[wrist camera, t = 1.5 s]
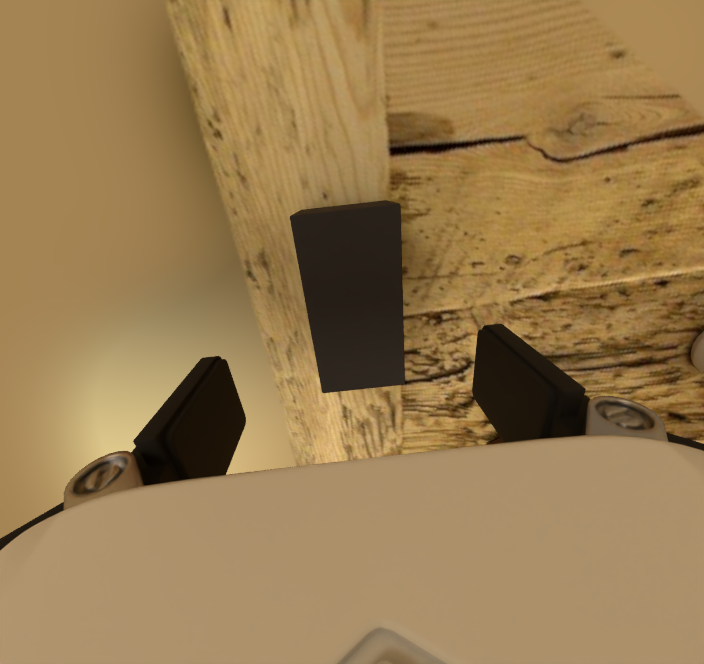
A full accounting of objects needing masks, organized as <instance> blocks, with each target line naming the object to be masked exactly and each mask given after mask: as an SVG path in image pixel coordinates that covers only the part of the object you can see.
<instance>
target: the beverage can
mask: <svg viewBox="0 0 704 664" xmlns="http://www.w3.org/2000/svg"><path fill="white" fill-rule="evenodd" d="M691 359H692V363H693V365H694V366H695V367H696V369H697V370H699V371H701V372H703V373H704V331H703V332H702V333H701V334H700V335H699V336H698V337H697V338H696V340H695V341H694V343H693V346H692V348H691Z"/></svg>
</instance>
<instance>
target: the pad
mask: <svg viewBox="0 0 704 664" xmlns="http://www.w3.org/2000/svg"><path fill="white" fill-rule="evenodd" d="M290 221H291V226H292V232H293V237H294V242H295V248H296V253H297V259H298V264H299V269H300V275H301V280H302V286H303V291H304V296H305V302H306V307H307V313H308V318H309V323H310V329H311V334H312V340H313V345H314V350H315V356H316V361H317V367H318V372H319V377H320V383H321V388H322V393H329V392H338V391H348V390H357V389H366V388H376V387H385V386H394V385H404V384H405V368H404V327H403V287H402V247H401V206H400V204H399V203H395V202H391V201H387V200H385V201H377V202H368V203H359V204H350V205H341V206H333V207H324V208H315V209H306V210H300V211H299V212H297V213H295V214H293V215H292V216H290Z"/></svg>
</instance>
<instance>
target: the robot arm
mask: <svg viewBox="0 0 704 664" xmlns="http://www.w3.org/2000/svg"><path fill="white" fill-rule="evenodd" d="M585 390H586V389H585V388H584V387H582V386H581V385H580V384H579V383H577V382H576V381H575V380H573V379H572V378H571V377H570V376H568V375H567V374H566V373H564V372H563V371H562V370H560V369H559V368H558V367H557V366H555V365H554V364H553V363H551V362H550V361H549V360H548V359H546V358H545V357H544V356H542V355H541V354H540V353H539V352H537V351H536V350H535V349H533V348H532V347H531V346H530V345H528V344H527V343H526V342H524V341H523V340H522V339H521V338H519V337H518V336H517V335H515V334H514V333H513V332H512V331H510V330H509V329H508V328H506V327H505V326H504V325H502V324H494V325H485V326H484V327H483V328H482V330H479V331H478V335H477V346H476V356H475V367H474V378H473V388H472V391H473V396H474V399H475V400H476V402H477V403H478V405H479V406H480V408H481V409H482V411H483V412H484V413H485V415H486V416H487V418H488V419H489V421H490V422H491V424H492V425H493V427H494V428H495V430H496V431H497V433H498V434H499V436H500V437H501V438H502V440H503V441H504V443H499V444H490V445H480V446H471V447H462V448H453V449H444V450H436V451H427V452H418V453H410V454H401V455H392V456H384V457H375V458H366V459H358V460H349V461H340V462H331V463H323V464H314V465H305V466H296V467H288V468H279V469H271V470H263V471H254V472H246V473H238V474H229V475H226V472H227V470H228V467H229V465H230V462H231V460H232V457H233V454H234V452H235V450H236V447H237V445H238V442H239V440H240V437H241V434H242V432H243V430H244V427H245V423H246V417H245V413H244V410H243V408H242V404H241V402H240V399H239V396H238V393H237V390H236V387H235V384H234V381H233V378H232V375H231V372H230V369H229V366H228V363H227V361H226V360H225V359H221V357H219V356H215V357H206V358H202V359H200V361H199V362H198V363H197V364H196V366H195V367H194V368H193V369H192V370H191V372H190V373H189V374H188V376H186V378H185V379H184V380H183V381H182V382H181V384H180V385H179V386H178V387H177V389H176V390H175V391H174V392H173V393H172V395H171V396H170V397H169V398H168V400H167V401H166V402H165V403H164V404H163V406H162V407H161V408H160V409H159V410H158V412H157V413H156V414H155V415H154V416H153V418H152V419H151V420H150V421H149V422H148V424H147V425H146V426H145V427H144V428H143V430H142V431H141V432H140V433H139V435H138V436H137V437H136V438H135V439H134V441H133V442H134V444H135V445H136V448H135V449H134V450H133V451H132V452H131V453H130V452H128V451H118V452H114V453H110V454H108V455H105V456H103V457H100V458H98V459H97V460H95V461H93V462H91V463H90V464H88V465H87V466H85V467H84V468H83V469H81V470H80V471H79V472H78V473H77V474H76V475H75V476H74V477H73V478H72V479H71V480H70V482H69V483H68V484H67V486H66V488H65V492H64V502H63V503H61V504H59V505H58V506H56V507H54V508H52V509H51V510H49V511H47V512H46V513H44V514H42V515H40V516H39V517H37V518H35V519H33V520H32V521H30V522H28V523H27V524H25V525H23V526H21V527H20V528H18V529H16V530H14V531H13V532H11V533H9V534H8V535H6V536H4V537H3V538H1V539H0V664H704V444H702V443H699V442H696V441H692V440H689V439H686V438H683V437H679V436H676V435H673V434H670V433H666V430H665V426H664V423H663V421H662V419H661V418H660V417H659V416H658V415H657V414H656V413H655V412H653V411H652V410H650V409H648V408H647V407H645V406H643V405H641V404H639V403H636V402H634V401H631V400H628V399H624V398H620V397H614V396H598V397H594V398H593V399H591V400H590V399H589V398H587V397H586V396H585V395H584V393H585Z"/></svg>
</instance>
